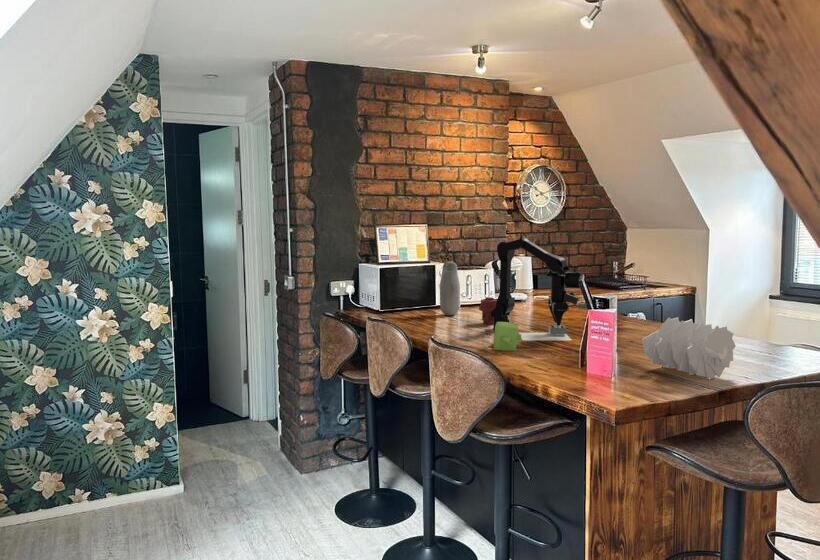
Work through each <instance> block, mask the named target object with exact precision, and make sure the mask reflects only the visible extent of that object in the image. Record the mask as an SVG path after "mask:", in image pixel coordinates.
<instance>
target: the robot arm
mask: <svg viewBox="0 0 820 560" xmlns="http://www.w3.org/2000/svg"><path fill="white" fill-rule="evenodd" d="M520 249H523V250H524V251H526V252H528V254H530V255H532V256H534V257H536V258H537V259H539V260H540V261H542V262H543V263H544V264H545V266H546V267H547V268H549V270H550V271H549V272H547V274H546V275H545V276H546V277H550V289H549V292H550V297H549V298H547V299H546V301H547V302H546V303H547V307H548V309H549V312H550V313H551V316H552V317H551V318H552V320H553V321H554V323H555V322H556V323H557V325H562V324H561V323H562V319H563V316H564V314H565V313H566V312H568V311H569V309H570V308H569V304H568V303H570V304H573V305H574V306H577V304H578V301H579V297H577V296H576V295H575V293H574V292H572V291H570V292H568V293H567V290H566V288H568V289H579V290H581V287H580V284H579V279H580V276H583V275H582V272H581V271H578V272H573V271H572V270H571V268H570V267H569V266H568V262H567V260H566V258H564V257H562V256H559V255H556V254H554V253H550V252H548V251H547V250H545V249H543V248H541V247H540V246H538V245H537V244H535V243H534V242H533V241H530V240H529V239H528V238H526V237H521V238H518V239H516V240H511V241H510V240H508V241H500V242H499V243H498V244H497V246H496V252H497V257H498V260H499V261H500V262H499V263H500V264H499V265H500V267H499V268H500V269H499V295H498V296H497V298H496V299H497V302H496V308H495V309H494V310H493V311H492V312H491V316H492V317H493V324H492V325H493V327H492V330H493V331H495V325H496V323H497V322H509V323H510V319H509V317H508V316H510V315H511V313H512V312H513V310H514V308H515V307H516V305H515V301H516V297H513V296H512V294H511V284H512V283H511V281H512V280H511V279H512V278H511V277H512V275H511V274H512V261H513V258H514V256H515V251H516V250H517V251H518V250H520ZM567 302H568V303H567Z"/></svg>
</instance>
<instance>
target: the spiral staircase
mask: <svg viewBox="0 0 820 560" xmlns="http://www.w3.org/2000/svg"><path fill="white" fill-rule="evenodd" d="M693 321H694V320H693V319H692V318H691V319H689V320H685V321H684V320H680V319H679V317H674V318H671V317H668V318H667V319H666V320H665V321H664V322H663V323H662V324H660V327H659V330H656V331H654V332H652V333H651V334H649V335H647V336H645V337H643V338H642V339H641V343H642V346H643V351H644V353H643V354H645V356H646V358H648V359H649V360H650V363H651V365H656V366H657V365H658V366H661V368H662V367H663V368H665V367H666V369H676V370H677V372H680V371H681V372H684V373H688V374H689V376H690V375H692V376H694V375H696V376H699V377H705V378H706V380H707V379H709V378H711V379H713V378H715V377H716V376H717V377H718V378H720V377H721V376H722V374H723V372H724V370H725V368H727V369H730V364H731V362H734V349H735V348H736V347H737V345H736V344H735V342H734V339H733V337H734V332H732V331H731V330H728V326H727V325H724V326H720V327H719V325H716V326H715V327H714V328H713V327H712V325H713V324H711V323H710V324H704V322H700V323H699V324H697V323H695V322H693ZM709 380H710V379H709Z"/></svg>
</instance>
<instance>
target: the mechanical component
mask: <svg viewBox="0 0 820 560" xmlns="http://www.w3.org/2000/svg"><path fill="white" fill-rule="evenodd" d="M497 299H498V298H496V299H495V298H494V297H490V296H489V297H485V298H484V299H483V298H482V299H481V300H480V305H479V306H478V310H479V311H481V312H482V315H481V319H482V322H483V324H487V325H488V326H489V325H490V326H491V325H493V317H492V316H491V312H492V311H493V310H494V309H495V308H496V302H497Z"/></svg>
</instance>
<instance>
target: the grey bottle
mask: <svg viewBox="0 0 820 560" xmlns="http://www.w3.org/2000/svg"><path fill="white" fill-rule="evenodd" d="M440 277H441V278H440V281H439V307H440V308H439V309H440V310H441V313H442V314H443V315H445V316H449V317H451V316H454V315H457V314H458V312H459V310H460V306H461V305H460V303H461V299H460V297H461V283H460V278H459V272H458V265H457V264H456V262H454V261H450V260H448V261H445V262H444V263H443V265H442V271H441V275H440Z"/></svg>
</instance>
